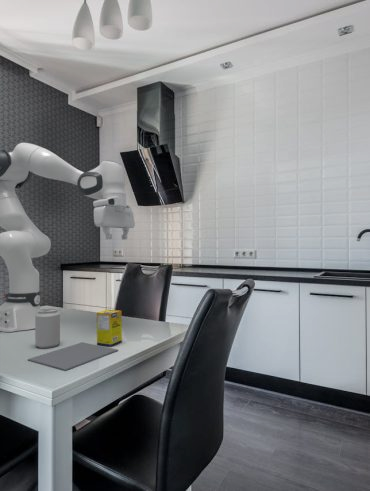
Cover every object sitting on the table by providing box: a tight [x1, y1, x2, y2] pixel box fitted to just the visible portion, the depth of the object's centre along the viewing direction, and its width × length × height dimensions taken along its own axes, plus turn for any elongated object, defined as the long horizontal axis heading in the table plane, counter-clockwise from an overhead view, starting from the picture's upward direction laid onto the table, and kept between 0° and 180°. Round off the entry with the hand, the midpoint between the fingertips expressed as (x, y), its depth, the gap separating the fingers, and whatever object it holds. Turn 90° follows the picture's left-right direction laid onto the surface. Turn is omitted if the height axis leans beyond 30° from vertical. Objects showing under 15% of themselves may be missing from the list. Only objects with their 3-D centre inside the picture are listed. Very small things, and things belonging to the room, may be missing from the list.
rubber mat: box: [27, 341, 119, 372], centre depth 100 cm, size 20×16×1 cm
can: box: [34, 307, 61, 349], centre depth 111 cm, size 8×8×12 cm
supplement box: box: [96, 309, 123, 348], centre depth 113 cm, size 6×6×11 cm
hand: (117, 239), depth 128 cm, fingers open, 8 cm apart
